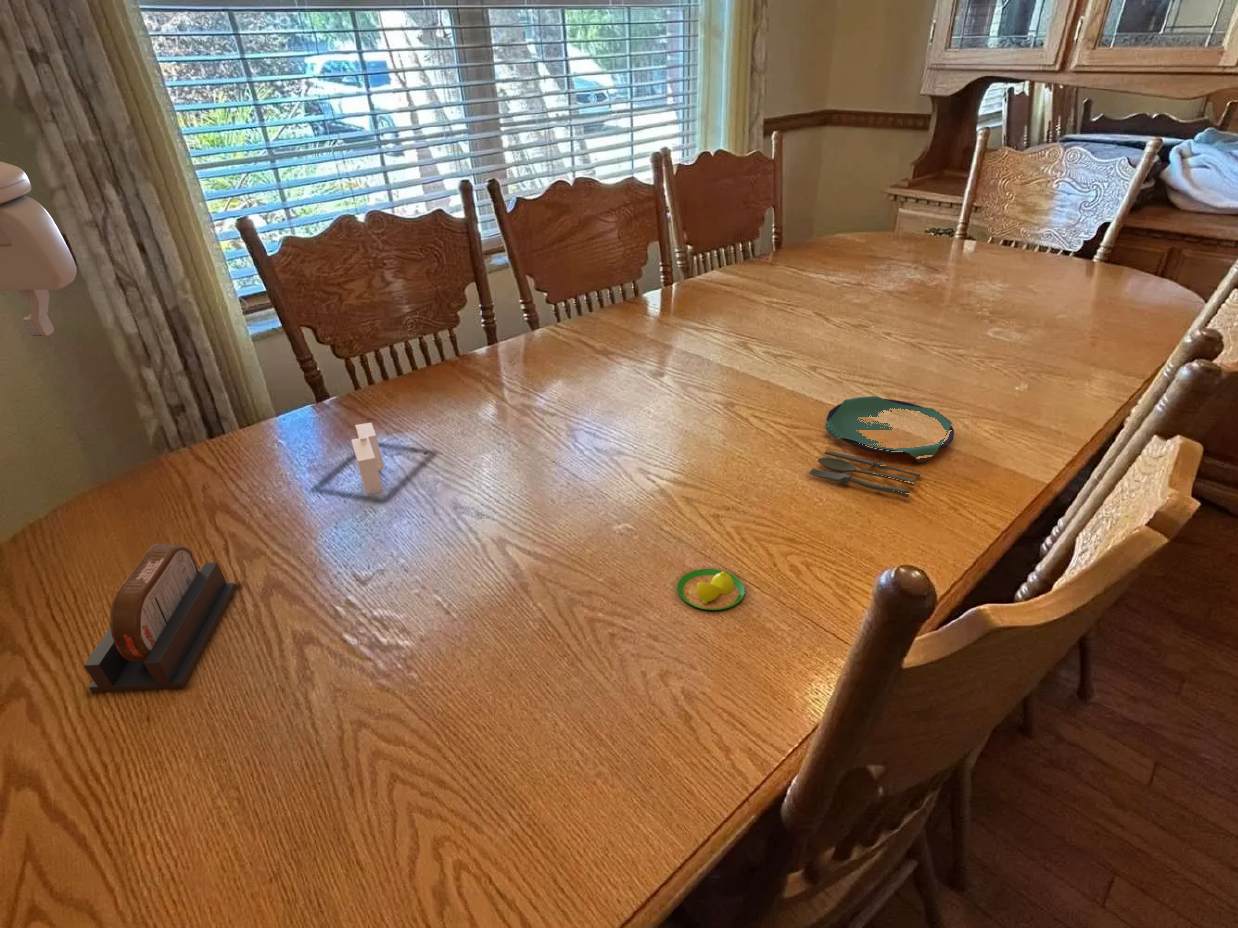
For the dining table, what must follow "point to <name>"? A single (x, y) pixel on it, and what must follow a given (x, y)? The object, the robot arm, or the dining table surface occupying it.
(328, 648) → the dining table surface
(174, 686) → the holder
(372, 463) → the beige double block
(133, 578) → the tin
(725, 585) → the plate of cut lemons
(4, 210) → the robot arm
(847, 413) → the cutlery set
